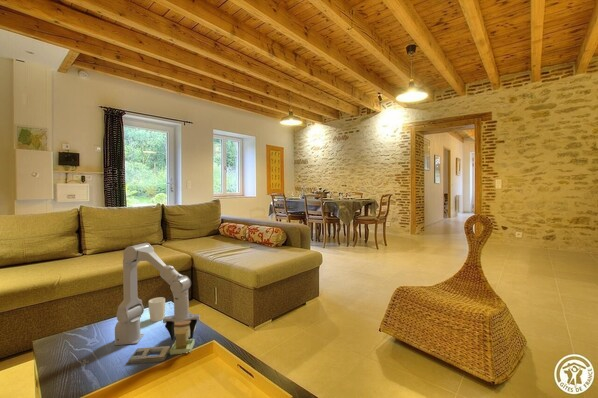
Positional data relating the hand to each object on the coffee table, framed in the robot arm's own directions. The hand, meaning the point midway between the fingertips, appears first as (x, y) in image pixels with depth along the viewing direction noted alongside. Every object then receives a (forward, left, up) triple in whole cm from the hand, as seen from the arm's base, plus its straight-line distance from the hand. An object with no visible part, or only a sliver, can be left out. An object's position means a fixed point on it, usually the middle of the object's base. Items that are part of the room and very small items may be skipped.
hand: (182, 338), depth 123 cm
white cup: (-21, +32, -5) cm, 39 cm away
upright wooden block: (0, 0, -4) cm, 4 cm away
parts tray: (0, 0, -5) cm, 5 cm away
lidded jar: (-2, +11, -5) cm, 12 cm away
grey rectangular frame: (-11, -4, -5) cm, 13 cm away
